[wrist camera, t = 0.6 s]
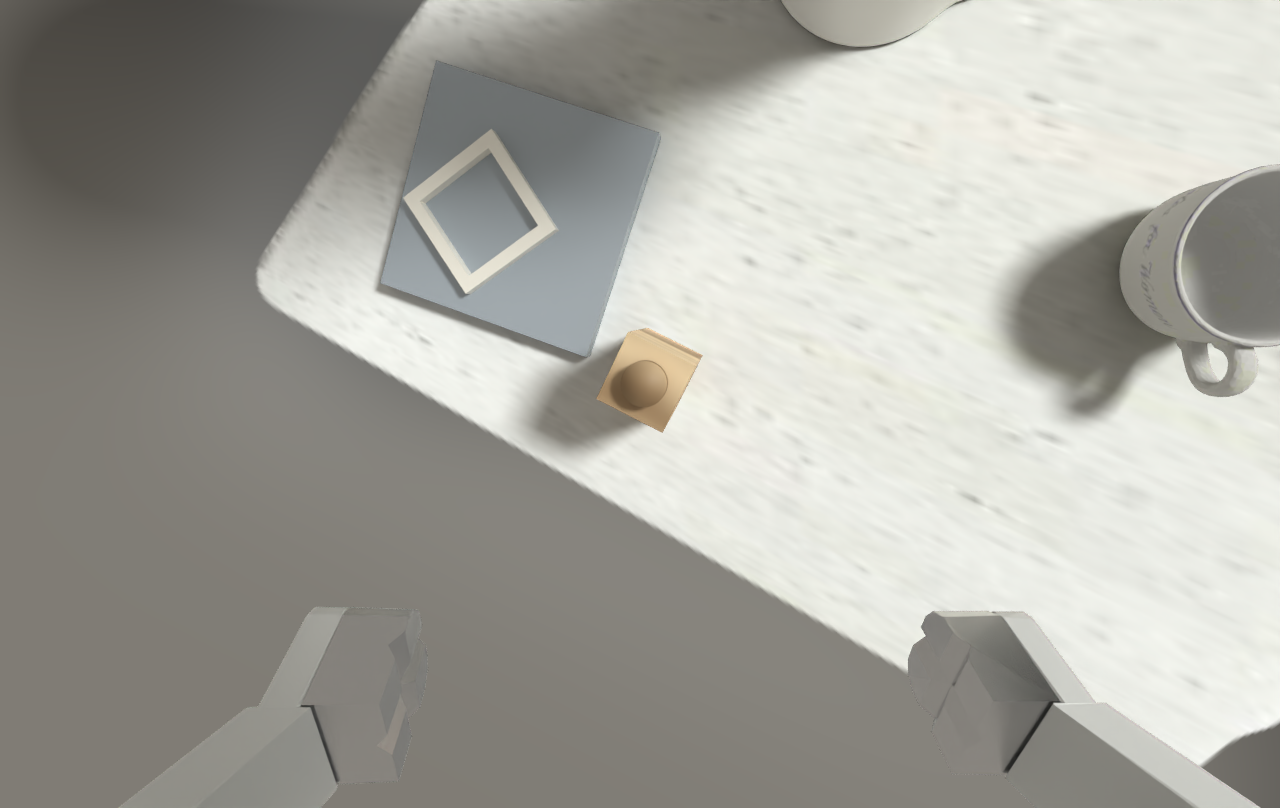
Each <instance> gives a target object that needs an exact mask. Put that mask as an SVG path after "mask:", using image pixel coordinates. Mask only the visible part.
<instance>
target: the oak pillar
mask: <svg viewBox="0 0 1280 808" xmlns="http://www.w3.org/2000/svg"><path fill="white" fill-rule="evenodd" d="M701 357H702V355H701V354H699V353H697V352H695V351H693V350H691V349H689V348H687V347H685V346H683V345H681V344H679V343H677V342H675V341H673V340H671V339H669V338H667V337H665V336H663V335H661V334H659V333H657V332H655V331H653V330H651V329H649V328H645V329H640V330H635V331H631V332H628V333H627V335H626V337H625V340H624V342H623V344H622V346H621V348H620V350H619V352H618V354H617V356H616V358H615V361H614V363H613V365H612V367H611V369H610V371H609V373H608V375H607V377H606V379H605V382H604V384H603V386H602V388H601V390H600V392H599V394H598V396H597V398H596V399H597V400H599V401H601V402H603V403H605V404H607V405H609V406H611V407H613V408H615V409H617V410H619V411H621V412H623V413H625V414H627V415H629V416H631V417H633V418H635V419H637V420H638V421H640V422H642V423H644V424H646V425H648V426H650V427H652V428H654V429H656V430H658V431H660V432H662V433H663V431H664V429H665V427H666V425H667V423H668V422H669V420H670V418H671V416H672V414H673V412H674V411H675V409H676V407H677V405H678V403H679V401H680V399H681V397H682V395H683V393H684V391H685V389H686V387H687V385H688V383H689V381H690V379H691V377H692V375H693V373H694V371H695V369H696V367H697V365H698V363H699V361H700V359H701Z"/></svg>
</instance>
